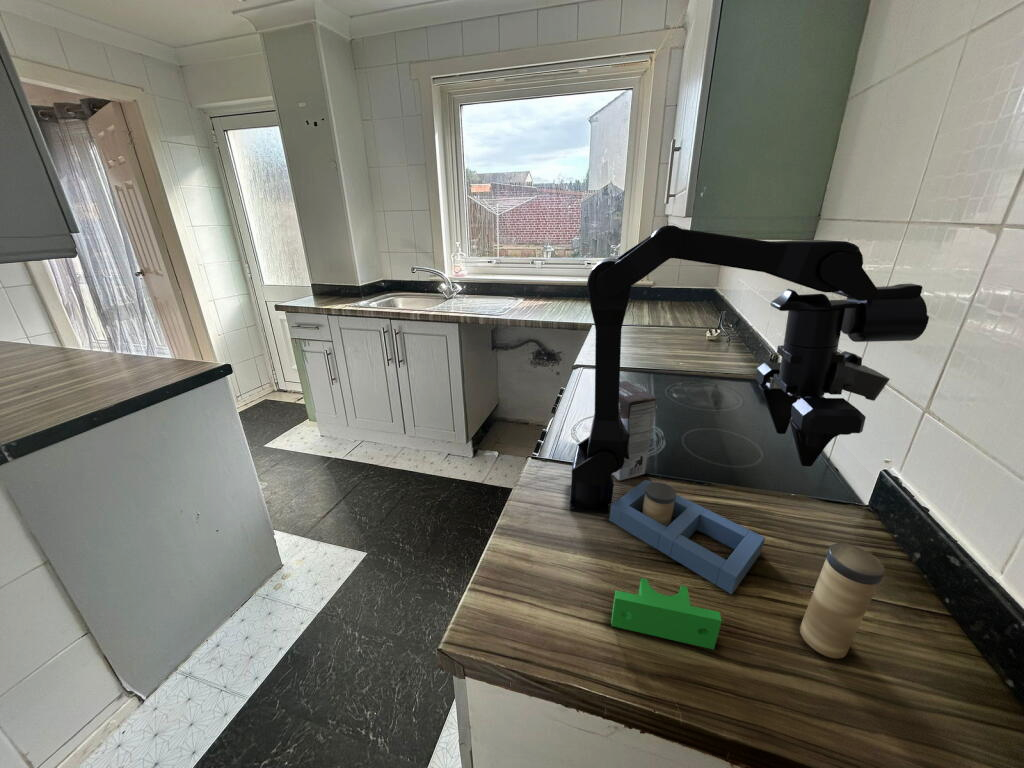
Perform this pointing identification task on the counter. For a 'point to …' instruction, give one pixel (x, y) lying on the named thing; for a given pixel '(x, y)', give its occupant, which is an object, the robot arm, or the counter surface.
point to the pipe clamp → (666, 616)
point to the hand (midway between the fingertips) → (792, 448)
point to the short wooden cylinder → (659, 502)
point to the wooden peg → (840, 599)
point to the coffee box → (636, 427)
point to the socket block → (685, 524)
